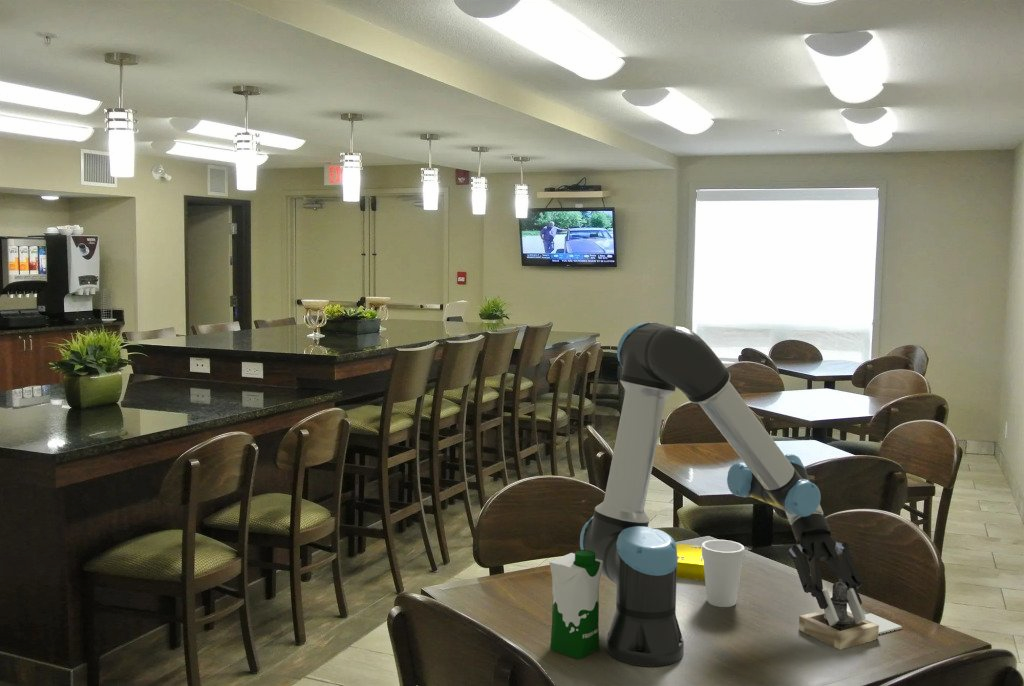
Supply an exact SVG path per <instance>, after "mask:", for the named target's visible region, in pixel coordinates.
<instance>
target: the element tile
mask: <svg viewBox="0 0 1024 686" xmlns="http://www.w3.org/2000/svg"><path fill="white" fill-rule="evenodd" d="M676 546H677V557H678V564H677V577H678V578H677V579H684V578H686V579H687V580H694V579H698V580H697V581H703V580H705V573H704V564H703V557H702V545H695V544H694V545H693V544H683V543H682V544H681V543H676Z"/></svg>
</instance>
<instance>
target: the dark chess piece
mask: <svg viewBox="0 0 1024 686" xmlns="http://www.w3.org/2000/svg"><path fill="white" fill-rule="evenodd" d="M841 581H842V580H841V578H840V579H838V581H837V582H834V583H833V584H832V596H831V597H830V598H831V601H832V603H833V606H834V608H835V611H836V614H837V616H838V619H839V621H838V622H837V623H836V624H835V625H833V626H830V625H829V622H828V620H827V617H826V615H824V618H825V622H826V625H828V626H830V627H832V628H834V629H837V630H839V631H842V630H846V629H850V628H851V626H852V623H853V622H854V619H853V618H852V617H851V616H849V615H848V614H847V612H848V602H849V601H848V600H847V586H846V584H844V583H842V582H841Z"/></svg>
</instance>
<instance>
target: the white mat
mask: <svg viewBox="0 0 1024 686" xmlns="http://www.w3.org/2000/svg"><path fill="white" fill-rule="evenodd" d="M864 615H865V619H866V620H868V621H870V622H873V623H875V624H877V625H879V632H878V636H880V635H883V634H882V633H884V634H886V632H887V633H890V631H891V632H894V630H895V631H898V630H902V629H903V627H902V625H900V624H897V623H895V622H892V621H890V620H888V619H886V618H883V617H881V616H878V615H876V614H873V613H866V614H864ZM879 634H880V635H879Z"/></svg>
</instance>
